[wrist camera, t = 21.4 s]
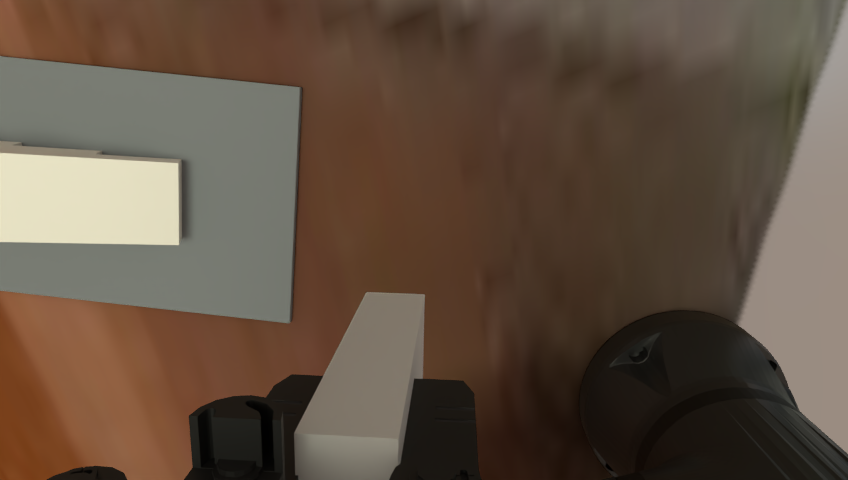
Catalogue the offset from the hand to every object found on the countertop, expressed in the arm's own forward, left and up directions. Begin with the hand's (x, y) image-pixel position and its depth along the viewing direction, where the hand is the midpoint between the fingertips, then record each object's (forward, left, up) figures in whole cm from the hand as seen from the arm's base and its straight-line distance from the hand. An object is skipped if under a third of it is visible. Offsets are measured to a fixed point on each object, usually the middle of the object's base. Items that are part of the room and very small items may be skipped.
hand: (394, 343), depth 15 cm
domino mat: (-3, +29, -28) cm, 40 cm away
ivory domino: (-3, +18, -27) cm, 32 cm away
